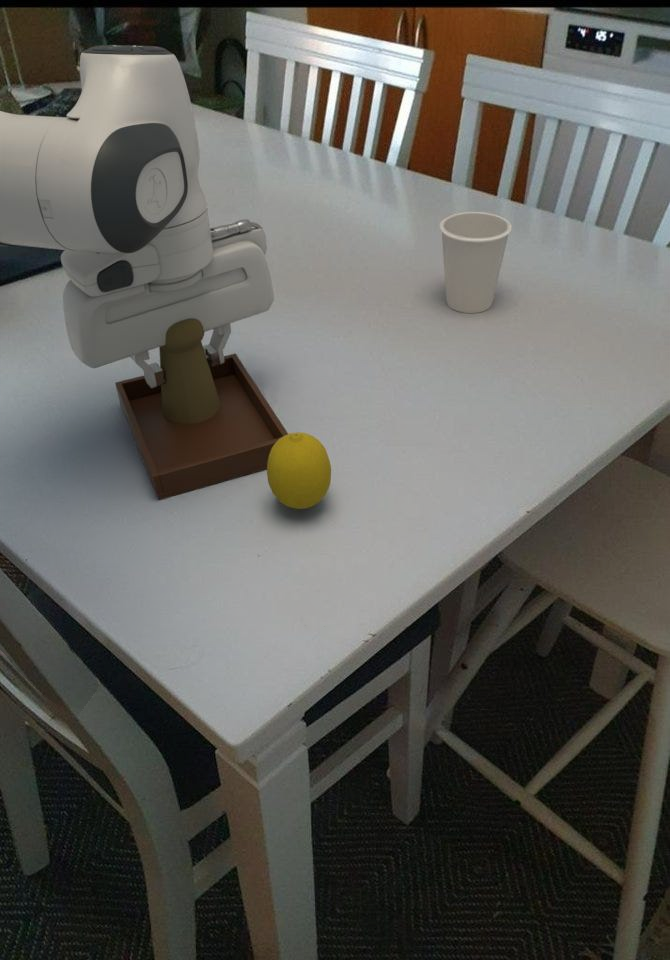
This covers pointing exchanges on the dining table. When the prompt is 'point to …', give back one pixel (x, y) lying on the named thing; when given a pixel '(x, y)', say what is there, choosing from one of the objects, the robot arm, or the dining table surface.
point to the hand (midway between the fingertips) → (185, 373)
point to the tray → (202, 432)
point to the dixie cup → (473, 258)
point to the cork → (187, 375)
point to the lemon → (298, 470)
